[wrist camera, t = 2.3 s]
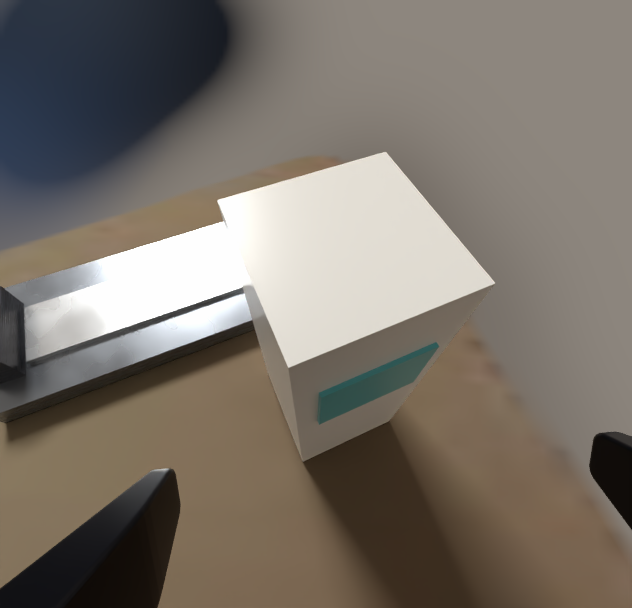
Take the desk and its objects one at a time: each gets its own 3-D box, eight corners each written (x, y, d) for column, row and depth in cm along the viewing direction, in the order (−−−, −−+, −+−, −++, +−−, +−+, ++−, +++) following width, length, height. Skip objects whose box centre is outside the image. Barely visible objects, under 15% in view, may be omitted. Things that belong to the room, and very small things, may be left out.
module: (390, 423, 19) (499, 288, 8) (303, 464, 18) (291, 374, 7) (347, 342, 22) (385, 151, 11) (268, 374, 21) (217, 200, 9)
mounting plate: (375, 284, 24) (382, 255, 21) (5, 423, 19) (-43, 407, 16) (324, 203, 28) (325, 170, 25) (4, 303, 23) (-35, 274, 20)
